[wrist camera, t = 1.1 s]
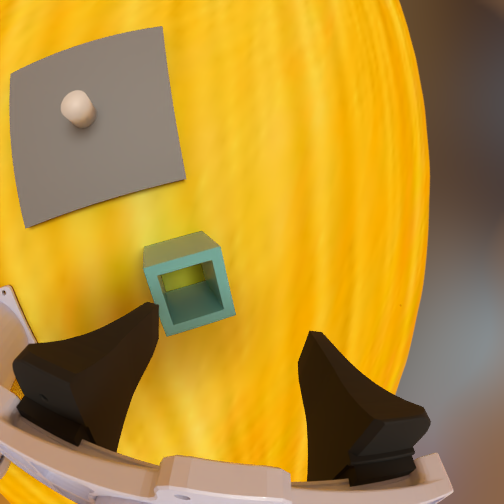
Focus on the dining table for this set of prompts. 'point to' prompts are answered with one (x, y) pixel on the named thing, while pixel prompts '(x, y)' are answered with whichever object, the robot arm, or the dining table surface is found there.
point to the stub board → (93, 124)
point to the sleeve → (193, 296)
